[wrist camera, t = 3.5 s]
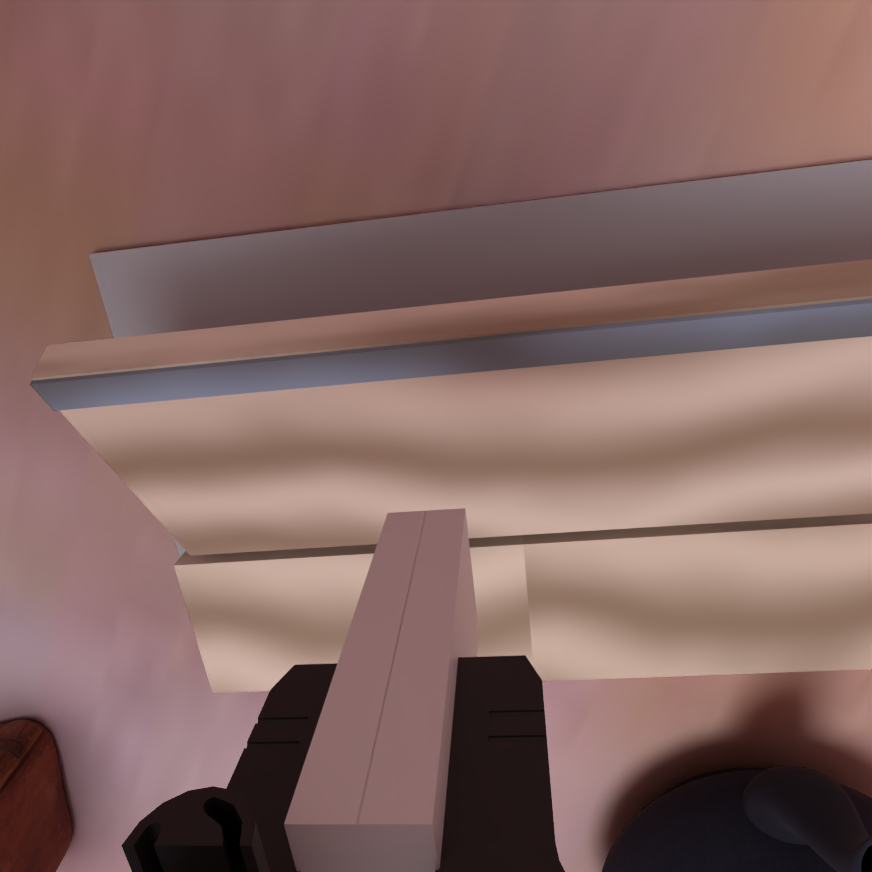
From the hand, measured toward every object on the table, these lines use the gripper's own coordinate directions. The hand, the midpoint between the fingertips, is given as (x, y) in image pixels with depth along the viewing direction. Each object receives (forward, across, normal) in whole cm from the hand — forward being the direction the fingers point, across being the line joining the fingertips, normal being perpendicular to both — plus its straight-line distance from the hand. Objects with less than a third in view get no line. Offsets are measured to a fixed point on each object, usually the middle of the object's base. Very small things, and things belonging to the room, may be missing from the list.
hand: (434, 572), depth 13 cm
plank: (+11, +2, -1) cm, 11 cm away
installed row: (+14, +2, -10) cm, 18 cm away
